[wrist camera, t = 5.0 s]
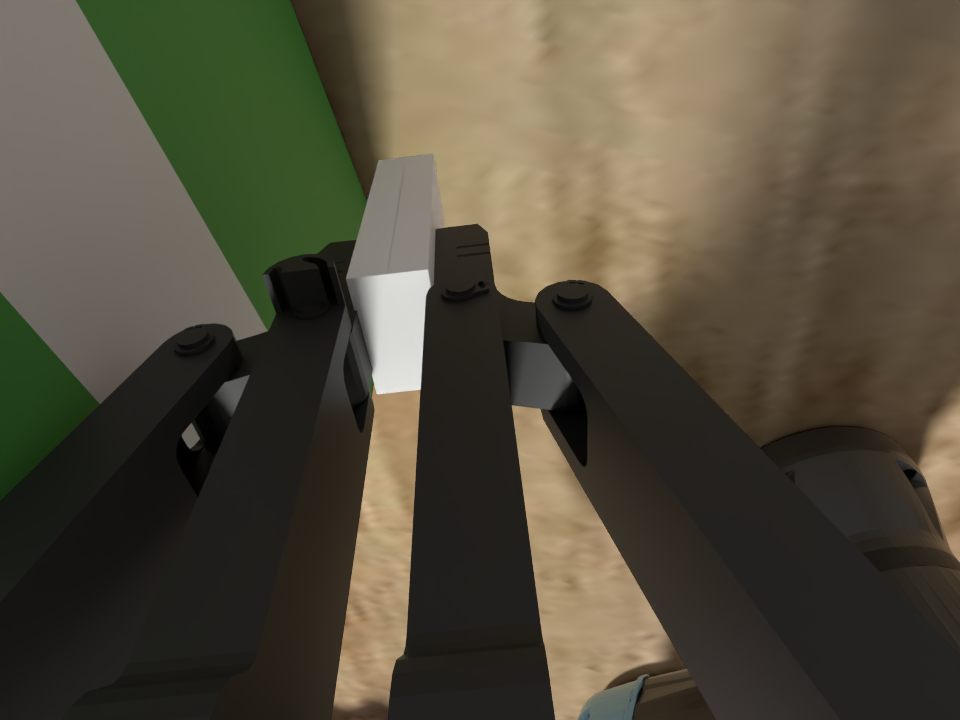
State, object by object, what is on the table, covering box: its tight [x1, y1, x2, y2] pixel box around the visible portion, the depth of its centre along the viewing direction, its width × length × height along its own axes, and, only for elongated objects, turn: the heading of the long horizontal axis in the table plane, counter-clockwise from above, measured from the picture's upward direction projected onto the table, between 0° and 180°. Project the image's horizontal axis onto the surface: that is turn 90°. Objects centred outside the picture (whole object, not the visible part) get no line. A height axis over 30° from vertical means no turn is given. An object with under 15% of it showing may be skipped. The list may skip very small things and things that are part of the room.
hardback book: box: [0, 0, 374, 501], centre depth 18 cm, size 18×7×24 cm, turn 14°
